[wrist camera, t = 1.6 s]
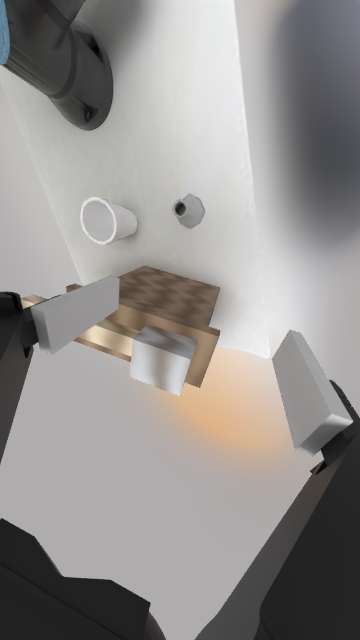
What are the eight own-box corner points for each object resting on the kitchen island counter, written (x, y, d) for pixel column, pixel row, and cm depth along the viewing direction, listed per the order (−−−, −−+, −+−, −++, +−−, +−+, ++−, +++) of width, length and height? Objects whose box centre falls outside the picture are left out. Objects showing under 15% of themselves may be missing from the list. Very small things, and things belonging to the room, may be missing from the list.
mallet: (38, 320, 39) (13, 332, 34) (31, 284, 35) (2, 293, 30) (187, 374, 34) (179, 396, 30) (197, 340, 30) (191, 359, 26)
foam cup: (114, 239, 56) (84, 242, 45) (111, 203, 51) (76, 196, 40) (143, 241, 54) (119, 245, 42) (142, 204, 49) (114, 198, 38)
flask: (190, 234, 49) (180, 235, 41) (171, 213, 48) (157, 210, 40) (210, 210, 46) (204, 206, 37) (189, 187, 45) (178, 178, 36)
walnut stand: (135, 296, 63) (72, 340, 39) (138, 261, 57) (66, 286, 33) (215, 321, 59) (199, 387, 35) (227, 286, 53) (219, 336, 29)
